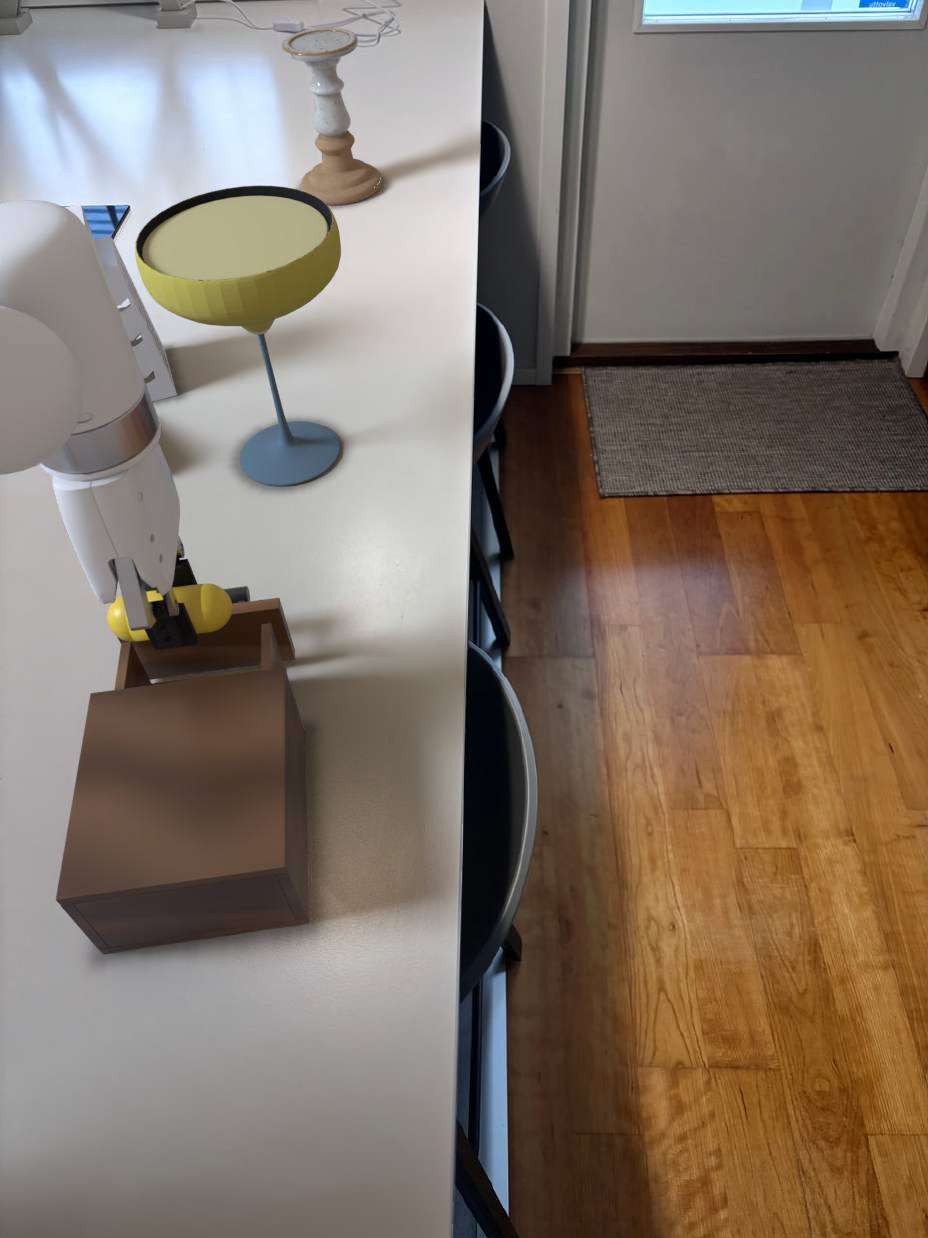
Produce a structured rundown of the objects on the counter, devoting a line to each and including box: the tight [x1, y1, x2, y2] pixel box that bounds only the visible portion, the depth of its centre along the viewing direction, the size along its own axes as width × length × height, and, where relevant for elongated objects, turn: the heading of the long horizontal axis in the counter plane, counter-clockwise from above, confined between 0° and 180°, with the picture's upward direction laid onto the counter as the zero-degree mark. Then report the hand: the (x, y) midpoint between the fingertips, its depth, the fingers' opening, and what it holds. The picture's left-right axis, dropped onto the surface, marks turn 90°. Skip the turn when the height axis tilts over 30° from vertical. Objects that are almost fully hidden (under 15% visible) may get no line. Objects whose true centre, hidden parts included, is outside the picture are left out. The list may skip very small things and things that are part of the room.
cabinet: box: [55, 666, 310, 954], centre depth 69 cm, size 17×15×9 cm
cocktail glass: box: [134, 185, 342, 487], centre depth 93 cm, size 18×18×25 cm
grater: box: [64, 203, 178, 402], centre depth 106 cm, size 10×10×20 cm
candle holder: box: [281, 27, 382, 206], centre depth 137 cm, size 12×12×20 cm
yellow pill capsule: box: [106, 582, 232, 642], centre depth 70 cm, size 9×4×4 cm
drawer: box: [113, 585, 296, 690], centre depth 76 cm, size 20×13×7 cm
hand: (178, 620), depth 71 cm, fingers closed on yellow pill capsule, 3 cm apart
